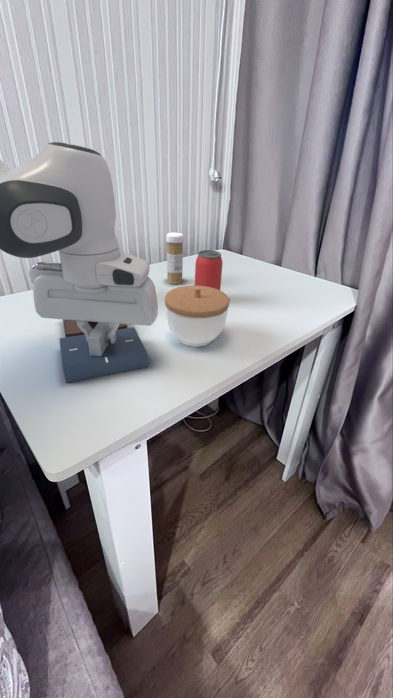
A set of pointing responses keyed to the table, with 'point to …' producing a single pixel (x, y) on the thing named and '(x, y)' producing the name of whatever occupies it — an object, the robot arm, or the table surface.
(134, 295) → the robot arm
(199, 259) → the beer can
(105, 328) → the grey rectangular block
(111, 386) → the table surface
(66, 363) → the panel
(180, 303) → the lidded bowl
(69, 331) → the button block
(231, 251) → the table surface
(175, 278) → the sprinkles bottle
